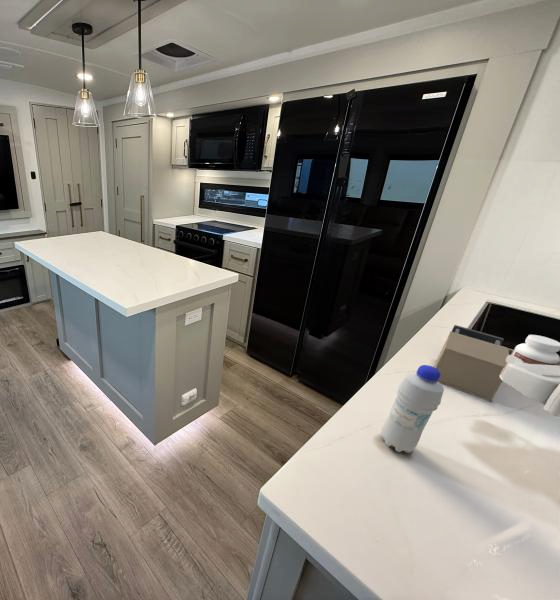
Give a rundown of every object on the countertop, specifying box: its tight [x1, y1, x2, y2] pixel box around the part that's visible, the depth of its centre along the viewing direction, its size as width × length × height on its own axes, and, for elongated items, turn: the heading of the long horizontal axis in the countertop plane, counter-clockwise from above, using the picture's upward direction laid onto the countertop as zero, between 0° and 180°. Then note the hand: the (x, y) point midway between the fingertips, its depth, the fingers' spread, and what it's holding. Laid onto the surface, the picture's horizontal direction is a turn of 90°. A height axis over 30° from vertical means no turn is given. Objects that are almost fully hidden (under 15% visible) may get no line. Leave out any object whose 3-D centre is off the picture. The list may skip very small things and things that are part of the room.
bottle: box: [380, 364, 445, 454], centre depth 63 cm, size 7×7×20 cm
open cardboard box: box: [433, 330, 510, 402], centre depth 88 cm, size 15×13×11 cm
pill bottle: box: [500, 334, 560, 386], centre depth 65 cm, size 6×6×11 cm
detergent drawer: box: [451, 324, 505, 346], centre depth 96 cm, size 18×11×9 cm, turn 134°
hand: (527, 358), depth 66 cm, fingers closed on pill bottle, 6 cm apart
